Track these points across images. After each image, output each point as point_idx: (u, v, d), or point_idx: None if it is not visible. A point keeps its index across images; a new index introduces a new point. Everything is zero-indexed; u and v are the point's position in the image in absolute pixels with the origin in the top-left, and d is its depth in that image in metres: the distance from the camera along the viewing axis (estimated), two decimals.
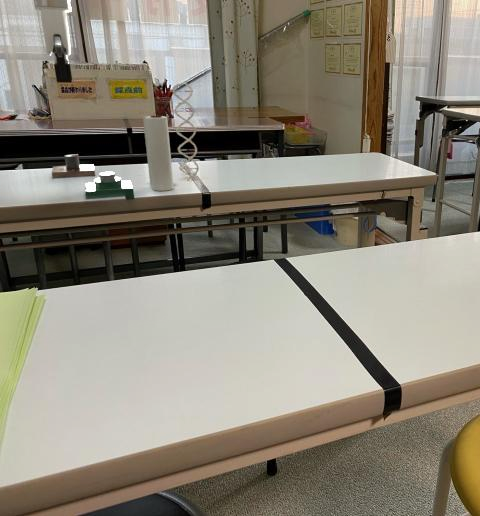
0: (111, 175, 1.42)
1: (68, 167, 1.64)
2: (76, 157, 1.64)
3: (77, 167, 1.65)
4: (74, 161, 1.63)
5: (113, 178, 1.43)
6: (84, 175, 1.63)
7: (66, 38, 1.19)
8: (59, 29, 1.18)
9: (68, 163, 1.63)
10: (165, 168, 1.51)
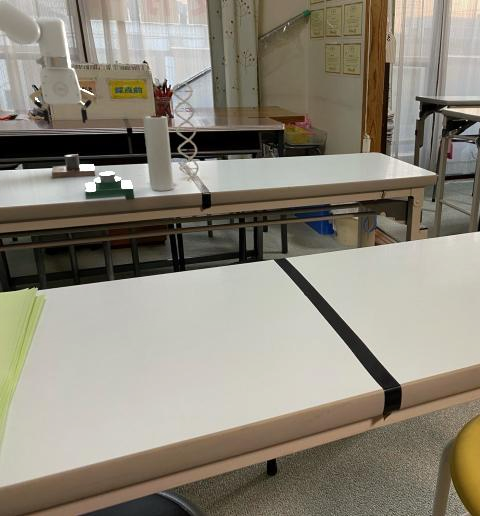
0: (111, 175, 1.42)
1: (68, 167, 1.64)
2: (76, 157, 1.64)
3: (77, 167, 1.65)
4: (74, 161, 1.63)
5: (113, 178, 1.43)
6: (84, 175, 1.63)
7: None
8: None
9: (68, 163, 1.63)
10: (165, 168, 1.51)
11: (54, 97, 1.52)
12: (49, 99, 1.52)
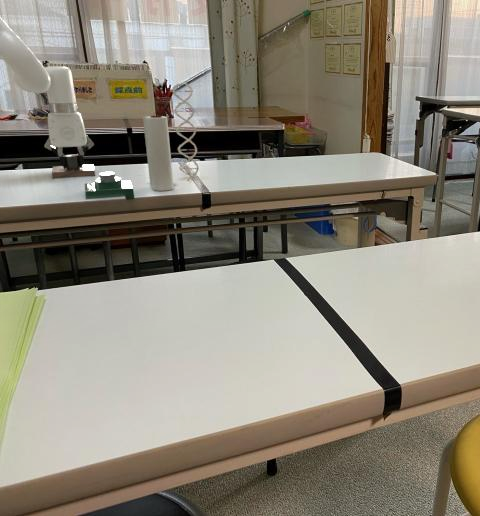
0: (111, 175, 1.42)
1: (68, 167, 1.64)
2: (76, 157, 1.64)
3: (77, 167, 1.65)
4: (74, 161, 1.63)
5: (113, 178, 1.43)
6: (84, 175, 1.63)
7: None
8: None
9: (68, 163, 1.63)
10: (165, 168, 1.51)
11: (61, 141, 1.59)
12: (56, 143, 1.59)
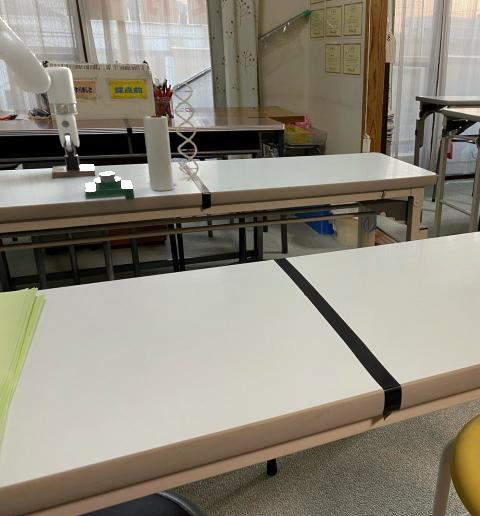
0: (111, 175, 1.42)
1: (78, 166, 1.65)
2: None
3: None
4: None
5: (113, 178, 1.43)
6: (84, 175, 1.63)
7: None
8: None
9: (78, 163, 1.65)
10: (165, 168, 1.51)
11: (78, 140, 1.62)
12: (78, 142, 1.61)
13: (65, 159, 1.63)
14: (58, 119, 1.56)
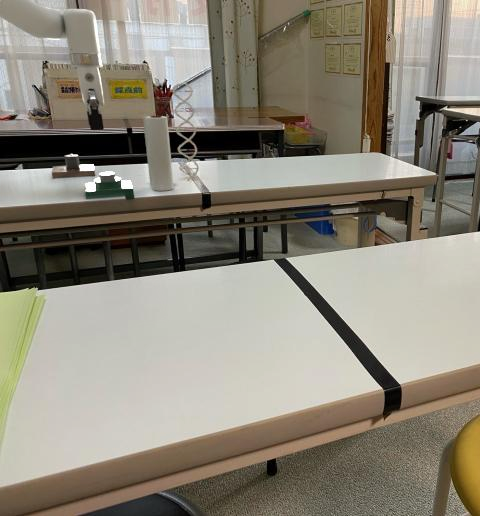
0: (111, 175, 1.42)
1: (78, 166, 1.65)
2: None
3: None
4: None
5: (113, 178, 1.43)
6: (84, 175, 1.63)
7: None
8: None
9: (78, 163, 1.65)
10: (165, 168, 1.51)
11: None
12: None
13: (65, 159, 1.63)
14: (81, 72, 1.32)
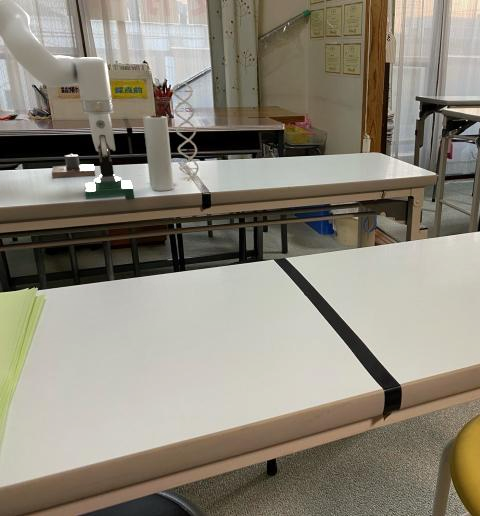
0: (111, 177, 1.42)
1: (78, 166, 1.65)
2: None
3: None
4: None
5: (113, 180, 1.43)
6: (84, 175, 1.63)
7: None
8: None
9: (78, 163, 1.65)
10: (165, 168, 1.51)
11: None
12: None
13: (65, 159, 1.63)
14: (92, 119, 1.33)
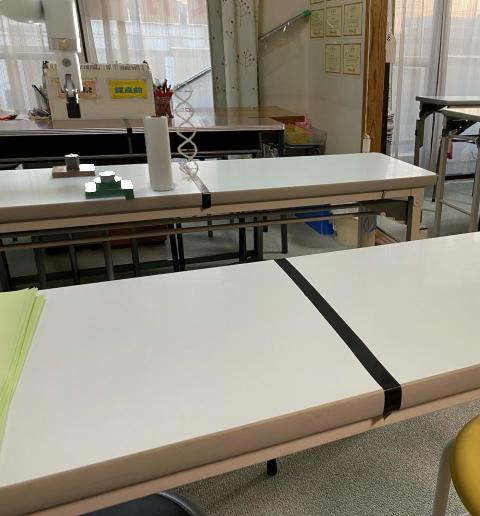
0: (111, 175, 1.42)
1: (78, 166, 1.65)
2: None
3: None
4: None
5: (113, 178, 1.43)
6: (84, 175, 1.63)
7: None
8: None
9: (78, 163, 1.65)
10: (165, 168, 1.51)
11: (81, 84, 1.38)
12: (81, 86, 1.37)
13: (65, 159, 1.63)
14: (58, 56, 1.32)
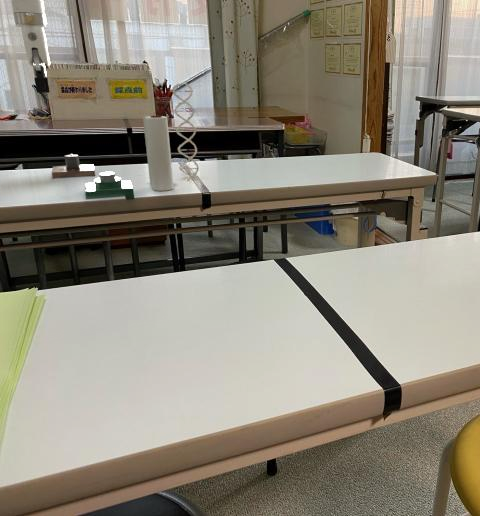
0: (111, 175, 1.42)
1: (78, 166, 1.65)
2: None
3: None
4: None
5: (113, 178, 1.43)
6: (84, 175, 1.63)
7: None
8: None
9: (78, 163, 1.65)
10: (165, 168, 1.51)
11: (48, 58, 1.41)
12: (48, 61, 1.40)
13: (65, 159, 1.63)
14: (24, 30, 1.35)
